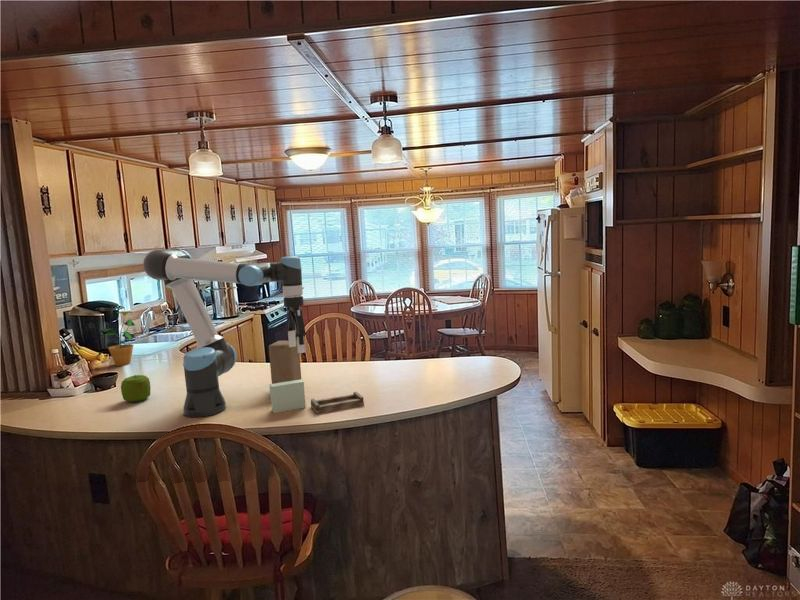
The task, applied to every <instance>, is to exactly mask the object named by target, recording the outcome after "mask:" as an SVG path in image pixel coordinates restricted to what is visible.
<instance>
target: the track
mask: <svg viewBox="0 0 800 600" xmlns="http://www.w3.org/2000/svg"><path fill="white" fill-rule="evenodd" d="M364 401H365V400H364V396H363V395H361V394H360V393H359V392H357V391H353V393H352V394H346V395H340V396H333V397H328V398H322V399H317V400H315V398H310V407H311V408H312V410H313V409H314V410H313V411H314V413H316V414H317V415H318V414H322V413H328V412H334V411H339V410H345V409H350V408H355V407H361V406H365V402H364Z"/></svg>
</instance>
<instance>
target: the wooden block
mask: <svg viewBox="0 0 800 600" xmlns="http://www.w3.org/2000/svg"><path fill="white" fill-rule="evenodd" d="M268 353H269V354H268V355H269V357H268V358H269V366H270V367H269V369H270V378H271V384H275V383H281V382H288V381H294V380H301V379H302V370H301V358H300V356H301V355H300V353H298V348H297V340H296V347H289V340H277V341H276V342H272V344H269V345H268Z"/></svg>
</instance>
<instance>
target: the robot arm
mask: <svg viewBox="0 0 800 600" xmlns="http://www.w3.org/2000/svg"><path fill="white" fill-rule="evenodd" d="M142 264H143V265H142V266H143V267H142V268H143V270H144V272H145V274H146V275H147V276H148V277H149V278H151V279H153V280H156V281H163V283H164V286H165V287H166V288H168V289H171V291H172V293H173V294H174V296H175V299H176V302H177V303H178V305H179V308H180V309H181V312H182V313H183V315H184V318H185V320H186V323H187V325H188V327H189V329H190V330H191V333H192V335H193V337H194V340H195V341H196V348H195V349H191V350H189V351H187V352H186V353H185V354H184V355H183V357H182V359H183V363H182V365H183V372H184V379H185V388H186V396H185V399H184V404H183V415H184V416H185V417H189V418H202V417H203V418H204V417H210V416H213V415H217V414H219V413H221V412H224V411H225V410H226V408H227V405H226V401H225V398H224V395H223V394H222V392H221V390H220V384H219V381H220V380H219V377H220V376H222V375H223V374H226V373H228V372H229V371H231V369H232V368H234V366H235V365H236V363H237V351H236V350H235V348H234V346H232V345H231V344H229V343H228V342H226V340H225V337H224V336H222V335H219V333H218V331H217V329H216V327H215V325H214V323H213V320H212V319H211V316H210V315H209V312H208V310H207V308H206V306H205V304H204V302H203V299H202V298H201V295H200V293H199V291H198V289H197V287H196V284H195V282H194V281H195V280H196V281H206V282H207V281H209V282H218V283H220V282H221V283H230V284H240V285H244V286H246V287H255V286H258V285H262V284H266V283H272V282H273V283H275V282H282V295H283V307H285V308H286V323H285V324H286V327H285V328H286V330H287V336H288V337H287V338H288V341H289V347H296V341H297V348H298V353H299V354H303V353H304V354H305V353H306V343H305V342H306V341H305V335H306V334H307V333H306V328H305V322H304V317H303V309H300V307H303V306H304V296H303V295H304V294H303V293H304V292H303V290H304V288H305V287H304V286H303V279H302V278H303V275H302V265H301V258H300V257H299V256H295V255H293V256H282V257H281V258H280V261H278V262H255V263H252V264H251V263H239V262H231V261H230V262H227V261H218V260H209V259H208V260H207V259H206V260H205V259H197V258H196V259H195V258H193V257H192V256H191V254H190V253H189V252H188V251H186V250H184V249H181V248H175V247H174V248H173V247H172V248H163V249H154V250H152V251H150V252H149V253H147V254H146V255H145V257H144V259H143V262H142Z"/></svg>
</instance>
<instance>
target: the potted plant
mask: <svg viewBox="0 0 800 600" xmlns="http://www.w3.org/2000/svg"><path fill="white" fill-rule="evenodd" d="M116 313H117V314H121V315H123V318H126V316H127V314H128V315H129V313H131V314H132V313H133V312H132V311H116ZM124 325H125V326H128V327H127V328H126V330H125V331H123V327H124ZM132 326H136V324H135V323H134V322H133V321H132V319H131V318H129V319H128V320H126V322H125V319H123V321H122V325H121V329H120V332H119V335H117V334H116V332H115V331H114V330H113V329H112V328H106V329H104V328H98V330H99V331H100V332H101V333H102V334H103V335H105V336H108V337H109V336H110V337H111V336H112V337H117V338H118V339H119V344H117V345H113V346H109V347H108V351H109V353H110V355H111V357H112V360H113V363H114V365H115V367H122V366H126V365H130V364H131V361H132V355H133V350H134V344H131V343H126V344H123V343H122V337H123V338H126V339H128V340H133V339H134V337H135V334H134V333H133V334H132V333H130V332H128V329H129V327H132ZM110 330H111V331H112V332H110Z"/></svg>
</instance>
